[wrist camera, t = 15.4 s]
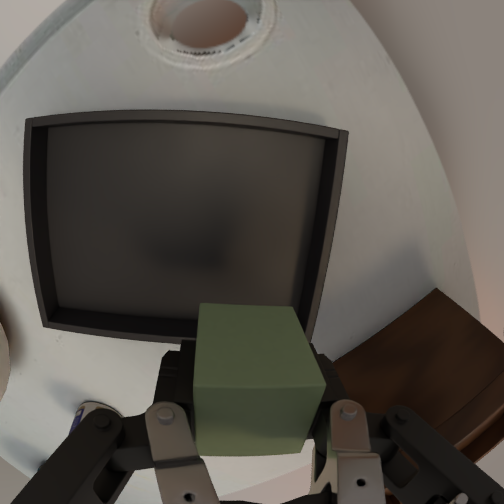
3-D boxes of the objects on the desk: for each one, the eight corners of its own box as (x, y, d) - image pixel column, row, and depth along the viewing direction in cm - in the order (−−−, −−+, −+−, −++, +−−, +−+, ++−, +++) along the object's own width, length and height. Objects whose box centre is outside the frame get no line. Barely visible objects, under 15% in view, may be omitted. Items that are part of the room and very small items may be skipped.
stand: (436, 287, 24) (534, 371, 11) (451, 349, 27) (519, 424, 15) (308, 377, 25) (356, 503, 13) (347, 422, 28) (389, 517, 16)
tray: (331, 132, 18) (349, 131, 16) (300, 325, 23) (309, 347, 20) (46, 120, 16) (25, 118, 13) (57, 308, 20) (42, 327, 18)
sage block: (293, 305, 13) (327, 384, 8) (279, 373, 14) (300, 453, 10) (200, 301, 13) (192, 385, 8) (198, 372, 14) (195, 456, 9)
